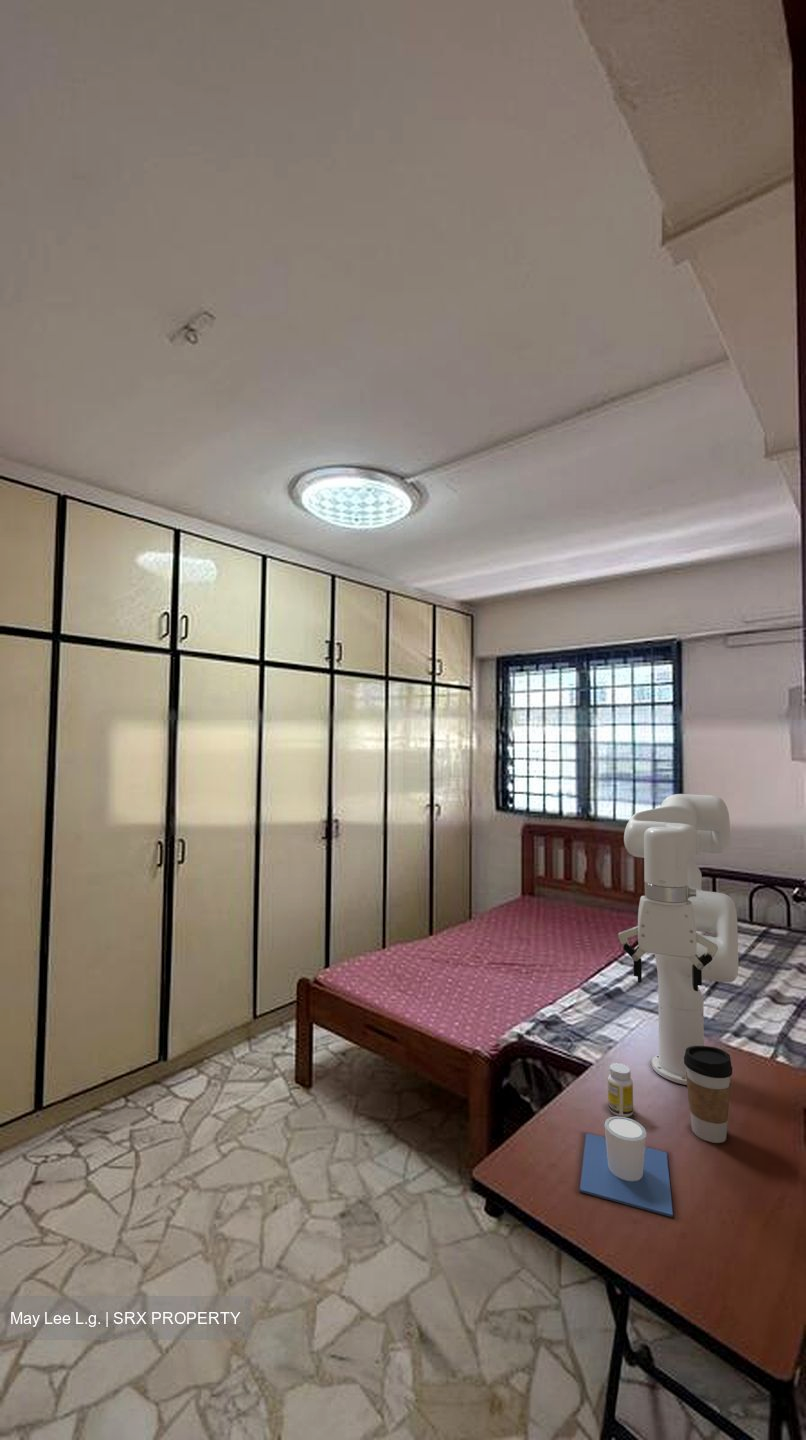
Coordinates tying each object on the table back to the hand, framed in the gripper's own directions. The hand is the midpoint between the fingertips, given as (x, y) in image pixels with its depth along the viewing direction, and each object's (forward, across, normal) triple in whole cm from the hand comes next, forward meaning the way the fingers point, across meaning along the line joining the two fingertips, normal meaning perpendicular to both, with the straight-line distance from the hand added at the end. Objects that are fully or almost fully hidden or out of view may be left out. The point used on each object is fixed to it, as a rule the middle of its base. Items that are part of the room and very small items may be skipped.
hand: (666, 984), depth 110 cm
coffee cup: (+30, -7, -7) cm, 31 cm away
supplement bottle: (+30, +9, -8) cm, 32 cm away
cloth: (+29, +8, +11) cm, 32 cm away
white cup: (+29, +7, +11) cm, 32 cm away
